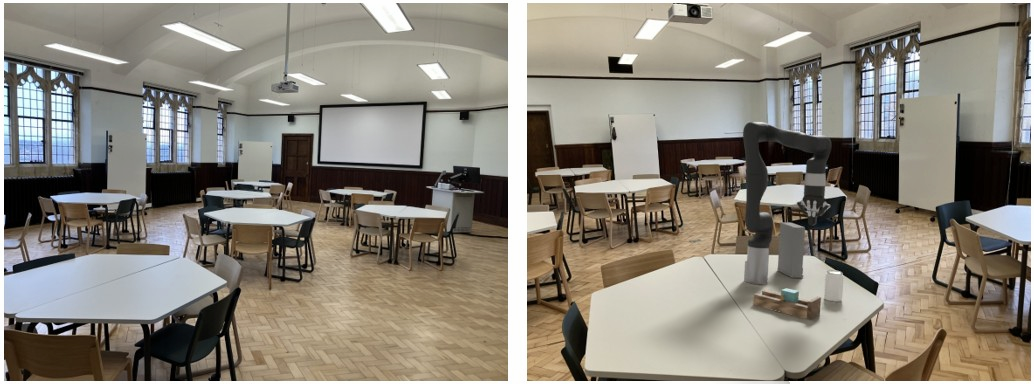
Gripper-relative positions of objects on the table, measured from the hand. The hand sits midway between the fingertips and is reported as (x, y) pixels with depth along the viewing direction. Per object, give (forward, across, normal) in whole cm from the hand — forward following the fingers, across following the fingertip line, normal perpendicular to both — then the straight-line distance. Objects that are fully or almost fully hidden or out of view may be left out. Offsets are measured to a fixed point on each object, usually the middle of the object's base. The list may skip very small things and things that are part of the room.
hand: (812, 225), depth 217 cm
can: (+32, +7, +8) cm, 34 cm away
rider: (+29, +1, -20) cm, 35 cm away
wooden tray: (+32, 0, -20) cm, 38 cm away
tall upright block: (+32, -22, +34) cm, 52 cm away
